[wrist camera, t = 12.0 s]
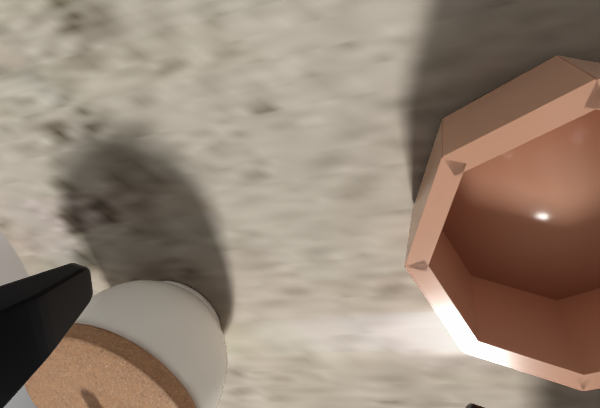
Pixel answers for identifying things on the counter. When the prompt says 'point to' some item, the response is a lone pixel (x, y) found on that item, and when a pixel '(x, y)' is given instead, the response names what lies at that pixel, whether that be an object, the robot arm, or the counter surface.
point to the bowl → (518, 224)
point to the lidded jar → (137, 352)
